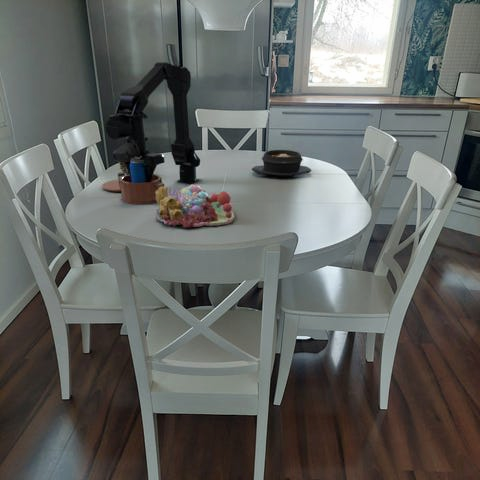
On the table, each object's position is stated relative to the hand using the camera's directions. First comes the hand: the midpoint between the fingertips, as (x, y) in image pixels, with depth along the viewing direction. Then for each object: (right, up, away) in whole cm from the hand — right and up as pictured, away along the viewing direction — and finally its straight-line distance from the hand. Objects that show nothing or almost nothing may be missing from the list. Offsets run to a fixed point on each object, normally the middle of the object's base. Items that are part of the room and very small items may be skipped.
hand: (141, 182), depth 157 cm
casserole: (+52, +13, +33) cm, 63 cm away
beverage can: (0, -4, +3) cm, 5 cm away
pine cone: (-9, +13, +31) cm, 35 cm away
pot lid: (-10, +3, +14) cm, 18 cm away
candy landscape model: (+20, -15, -13) cm, 28 cm away
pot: (0, -5, +3) cm, 6 cm away
